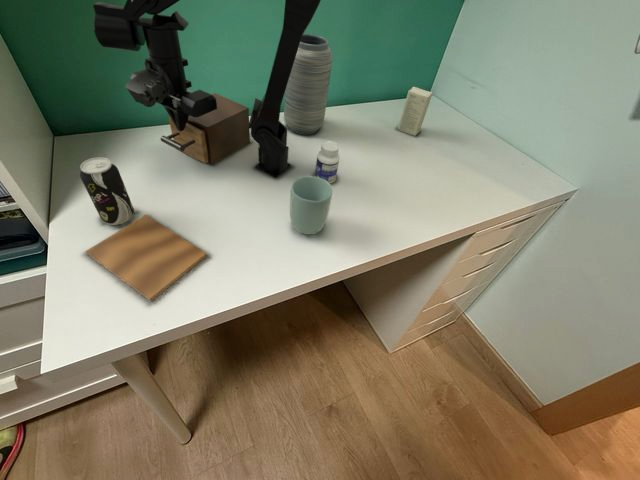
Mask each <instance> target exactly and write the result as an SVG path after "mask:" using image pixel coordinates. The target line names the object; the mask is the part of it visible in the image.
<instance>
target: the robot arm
mask: <svg viewBox="0 0 640 480" xmlns="http://www.w3.org/2000/svg"><path fill="white" fill-rule="evenodd" d="M180 1H181V0H126V2H125V4H124V6H123V5H117V4H109V3H107V2H103V1H98V2H95V3H94V4H93V5H92V7H93V10H94V15H93V26H94V28H93V32H94V36H95V38H96V40H97V41H98V43H99V44H100V46H101V47H102V48H105V49H113V50H123V51H131V52H139V51H140V50H141V47H143V46H145V44H146V48H147V49H146V50H147V54H148V56H149V57H147V58H145V59H144V67H145V68H144V69H142V70H139V71H135V72H132V73H131V75H130V77H129V81H128V82H127V83H126V84H125V88H126V90H127V91H128V93H129V94H130V95H131V97H132V98H133V100H134V101H135V102H136V103H139V104H141V105H143V106H144V107H146V108H152V107H154V106H155V105H156V104H159V105H161V106H162V107H163V108H164V109H165V111H166V113H167V114H168V117H170V118H171V119H172V121H173V123H174V124H175V126H176V128H177V130H178V131H180V132H181V131H183V130H184V129H185V126H186V123H187V120H188V117H189V115H190V116H192V117H200V116H202V115H204V114H207V113H209V112H211V111H213V110H216V109H217V102H216V98H215V97H214V96H213V95H211V93H209V92H206V91H204V90H202V89H197V90H195V91H193V90H190V89H189V88H192V87H193V85H192V81H191V80H188V79H187V78H186V73H185V67H187V66H189V61H188V59H187V58H185V57H183V54H182V49H181V44H180V37H179V31H181V32H184V31H185V29H187V27H188V26H189V22H188V20H186V19H185V18H184V17H183V16H182V15H181V14H180V13H179V11H178V10H175V11H173V13H171V15H168V14H161V13H162V12H164V11H166V10H167V9H169V8H170V7H172V6H174V5H175V4H177V3H178V2H180ZM284 1H285V2H284V10H283V12H284V13H283V21H282V22H283V23H282V28H281V30H280V31H281V32H280V36H279V39H278V42H277V43H278V44H277V47H276V50H275V55H274V59H273V62H272V66H271V70H270V75H269V78H268V81H267V85H266V90H265V93H264V95H263V97H262V99H261V100H260V99H258V97H257V98H256V97H255V98H254V101H253V102H254V103H253V106H252V110H251V111H252V112H251V114H250V116H249V126H248V128H250V138H252V139H253V141H254V142H255V143H257V144H258V147H257V152H258V153H257V155H258V156H257V157H258V158H257V159H258V163H257V164H255V165H254V167H255V169H257V170H259V171H261V172H263V173H265V174H267V175H269V176H271V177H273V178H278V177H279V176H281V175H282V174H284V173H285V172H287V170H289V169H291V167H292V164H291V163H289V150H290V149H289V148H290V147H289V146H287V145H288V144H287V143H288V142H287V141H288V128H287V127H286V126H285V125H284V124H283V123H282V122H281V121H280V118H281V117H280V116H281V107H282V103H283V101H284V98H285V90H286V87H287V84H288V80H289V77H290V74H291V70H292V67H293V64H294V60H295V57H296V54H297V51H298V47H299V44H300V41H301V37H302V35H303V34H305V31H306V30H307V28H308V27H309V25H310V24H311V22H312V20H313V18H314V16H315V14H316V12H317V9H318V7H319V5H320V3H321V1H322V0H284ZM145 14H146V15H150V16H152V17H142V16H143V15H145Z"/></svg>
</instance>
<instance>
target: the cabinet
mask: <svg viewBox="0 0 640 480" xmlns="http://www.w3.org/2000/svg"><path fill="white" fill-rule="evenodd" d="M210 94H211V93H210ZM211 95H213V96H214V97H215V98H216V102H217V109H216V110H213V111H211V112H209V113H207V114H204V115H202V116H200V117H192V116H190V115H189V117H188V120H187V121H189V122H191V123H193V124H195V125H197V126H199V127H201V128H204V129H206V136H207V143H208V150H209V156H208V160H209V161H208V162H207V163H209V164H211V165H215V164H216V163H218V162H220V161H222V160H224V159H225V158H227V157H228V156H230V155H232V154H234V153H235V152H237V151H238V150H240V149H242V148H243V147H246V146H247V145H249V144H250V143H251V128H248V126H249V122H250V108H249V107H248V106H246V105H243V104H241V103H239V102H237V101H234V100H232V99H229V98H227V97H225V96H223V95H220V94H218V93H216V92H215V93H212V94H211Z"/></svg>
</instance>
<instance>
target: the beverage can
mask: <svg viewBox="0 0 640 480" xmlns="http://www.w3.org/2000/svg"><path fill="white" fill-rule="evenodd" d="M79 169H80V172H79V177H80V180H81V182H82V184H83V186H84V188H85V190H86V192H87V193H88V196H89V197H90V200H91V201H92V204H93V206H94V208H95V210H96V211H97V214H98V216H99V218H100V220H101V221H102V222H103V223H105V224H106V225H113V226H115V225H122V224H124V223H126V222H129V221H130V220H131V219H132V218H133V216H134V215H135V209H134V206H133V203H132V201H131V199H130V196H129V193H128V191H127V188H126V186H125V183H124V180H123V178H122V175H121V172H120V170H119V168H118V167H117V166H116V165H115V164H113V162H112V161H111V159H109V158H106V157H100V156H99V157H92V158H91V157H90V158H88V159H86V160H84V161H83V162H82V163H81V164H80V167H79Z"/></svg>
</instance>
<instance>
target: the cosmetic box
mask: <svg viewBox="0 0 640 480" xmlns="http://www.w3.org/2000/svg"><path fill="white" fill-rule="evenodd" d="M432 96H433V92H432V91H428V90H425V89H422V88H421V87H420V88H419V87H416V86H412V87H411V88H410V89H409V90H408V92H407V95H406V98H405V102H404V105H403V109H402V113H401V116H400V119H399V123H398V126H397V130H398V131H400V132H403V133H406V134H409V135H410V136H414V137H416V136H417V135H418V134H419V133H420V131H421V129H422V125H423V123H424V120H425V117H426V114H427V111H428V108H429V105H430V103H431V99H432Z"/></svg>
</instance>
